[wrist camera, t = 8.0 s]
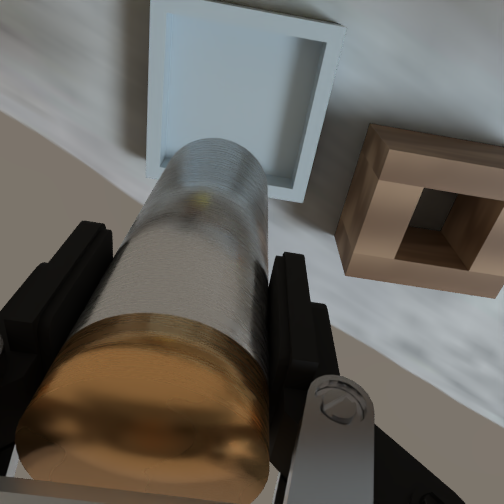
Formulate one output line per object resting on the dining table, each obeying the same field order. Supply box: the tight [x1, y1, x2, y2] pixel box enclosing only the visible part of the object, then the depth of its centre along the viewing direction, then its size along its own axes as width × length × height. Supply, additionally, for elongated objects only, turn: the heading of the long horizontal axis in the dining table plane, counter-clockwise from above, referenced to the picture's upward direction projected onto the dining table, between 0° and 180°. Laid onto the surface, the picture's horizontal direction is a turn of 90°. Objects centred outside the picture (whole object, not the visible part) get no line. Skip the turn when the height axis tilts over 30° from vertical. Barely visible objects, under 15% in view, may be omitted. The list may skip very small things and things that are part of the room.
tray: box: [146, 0, 347, 203], centre depth 29 cm, size 12×12×3 cm
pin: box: [15, 138, 269, 504], centre depth 12 cm, size 4×4×12 cm
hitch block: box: [335, 123, 504, 299], centre depth 32 cm, size 10×12×6 cm
